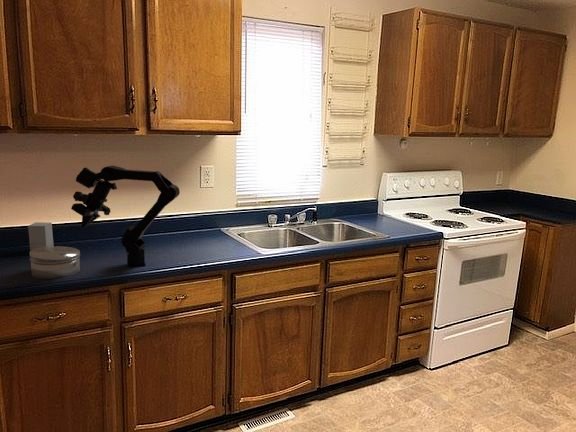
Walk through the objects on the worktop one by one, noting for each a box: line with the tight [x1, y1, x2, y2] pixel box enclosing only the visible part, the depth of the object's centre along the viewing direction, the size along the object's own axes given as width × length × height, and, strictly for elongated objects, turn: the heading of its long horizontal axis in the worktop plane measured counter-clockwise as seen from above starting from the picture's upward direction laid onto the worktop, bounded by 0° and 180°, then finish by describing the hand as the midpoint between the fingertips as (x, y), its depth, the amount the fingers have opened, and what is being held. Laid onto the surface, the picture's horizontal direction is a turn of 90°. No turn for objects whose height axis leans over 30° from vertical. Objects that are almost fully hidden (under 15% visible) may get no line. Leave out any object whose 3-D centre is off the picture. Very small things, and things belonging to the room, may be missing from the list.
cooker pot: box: [29, 254, 81, 280], centre depth 189 cm, size 18×25×6 cm
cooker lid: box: [28, 245, 81, 261], centre depth 185 cm, size 18×18×1 cm
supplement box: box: [27, 221, 55, 252], centre depth 212 cm, size 7×7×13 cm
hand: (82, 227), depth 194 cm, fingers closed
